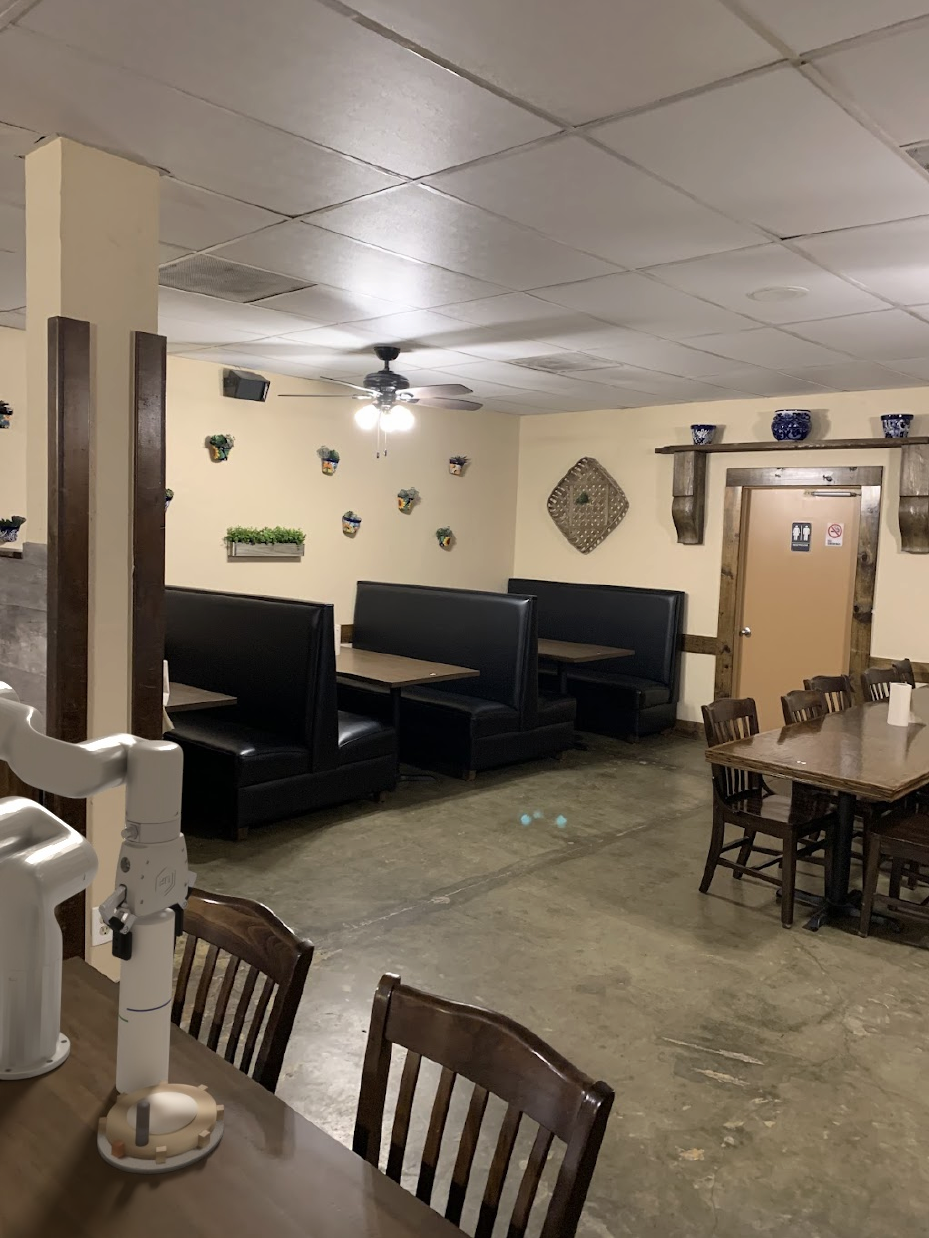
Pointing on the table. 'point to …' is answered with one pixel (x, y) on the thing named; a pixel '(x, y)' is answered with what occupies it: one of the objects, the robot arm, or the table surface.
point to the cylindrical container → (146, 1003)
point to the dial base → (150, 1164)
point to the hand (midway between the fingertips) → (148, 945)
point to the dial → (161, 1121)
